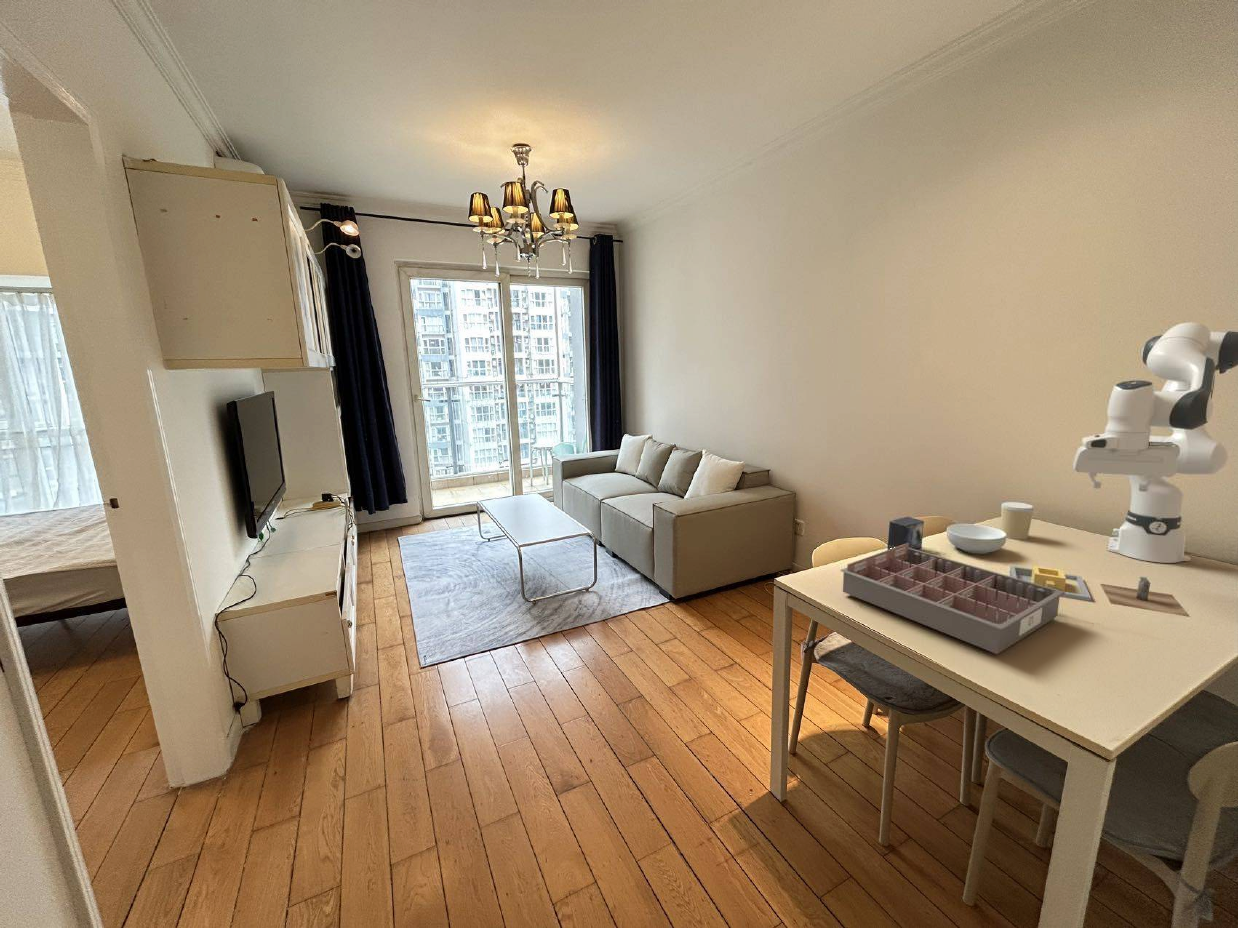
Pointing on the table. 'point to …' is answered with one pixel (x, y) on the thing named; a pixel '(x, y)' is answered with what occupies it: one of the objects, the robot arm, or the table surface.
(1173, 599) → the board with post
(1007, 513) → the coffee cup
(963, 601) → the organizer tray
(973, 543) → the cereal bowl
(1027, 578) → the tray
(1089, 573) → the table surface
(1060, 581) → the collar
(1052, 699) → the table surface
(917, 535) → the small box
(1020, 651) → the table surface
